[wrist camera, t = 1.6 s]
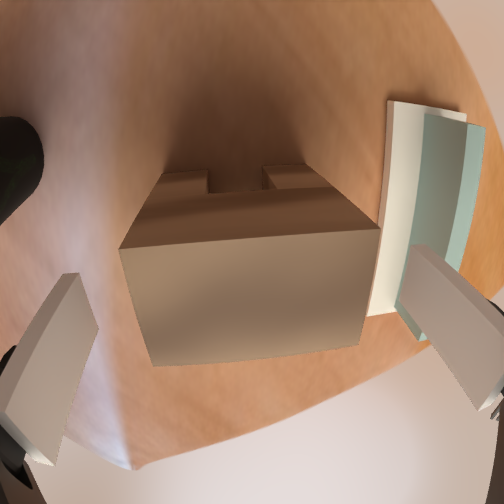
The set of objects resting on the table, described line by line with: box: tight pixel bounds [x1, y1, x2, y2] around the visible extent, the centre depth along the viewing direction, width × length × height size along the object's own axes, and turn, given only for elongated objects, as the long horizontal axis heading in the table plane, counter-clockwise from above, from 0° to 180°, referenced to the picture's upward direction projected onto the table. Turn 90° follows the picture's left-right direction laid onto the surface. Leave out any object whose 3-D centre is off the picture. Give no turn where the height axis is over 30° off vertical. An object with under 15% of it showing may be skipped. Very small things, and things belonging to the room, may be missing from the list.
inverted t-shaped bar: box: [366, 100, 486, 342], centre depth 18 cm, size 15×6×5 cm, turn 2°
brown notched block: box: [118, 164, 381, 367], centre depth 14 cm, size 5×8×9 cm, turn 92°
